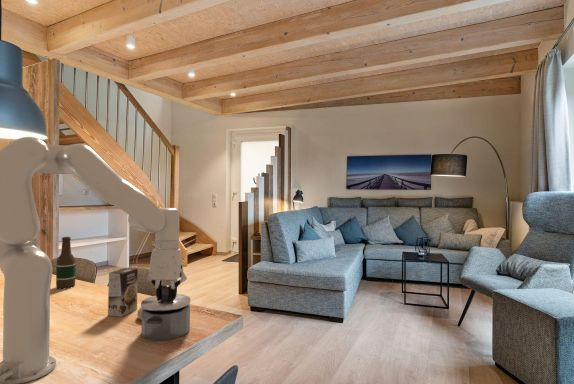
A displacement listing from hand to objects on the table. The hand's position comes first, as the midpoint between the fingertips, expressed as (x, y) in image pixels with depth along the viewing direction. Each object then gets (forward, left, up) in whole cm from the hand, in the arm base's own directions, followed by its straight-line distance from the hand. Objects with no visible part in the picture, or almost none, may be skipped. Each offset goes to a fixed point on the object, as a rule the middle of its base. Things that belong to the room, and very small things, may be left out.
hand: (166, 299), depth 115 cm
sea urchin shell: (+11, +11, -11) cm, 19 cm away
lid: (0, 0, -2) cm, 2 cm away
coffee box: (+15, +24, -11) cm, 30 cm away
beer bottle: (+44, +70, -11) cm, 83 cm away
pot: (0, 0, -11) cm, 11 cm away
